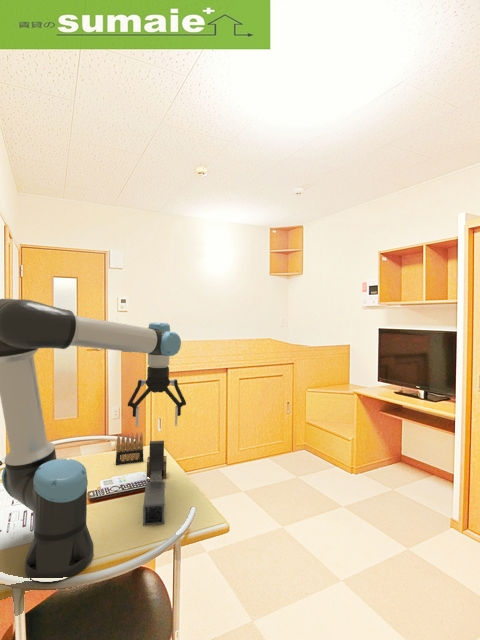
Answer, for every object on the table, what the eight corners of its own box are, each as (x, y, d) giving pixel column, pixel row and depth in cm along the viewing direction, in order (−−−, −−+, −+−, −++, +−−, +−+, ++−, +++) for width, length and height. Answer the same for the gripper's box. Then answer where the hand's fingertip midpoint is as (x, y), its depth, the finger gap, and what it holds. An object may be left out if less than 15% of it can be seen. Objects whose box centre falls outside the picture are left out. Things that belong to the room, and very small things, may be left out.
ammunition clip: (142, 460, 152) (143, 431, 151) (143, 461, 150) (144, 432, 150) (115, 463, 148) (116, 433, 147) (115, 465, 146) (116, 435, 146)
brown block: (166, 478, 136) (166, 461, 136) (146, 479, 135) (146, 462, 135) (166, 472, 141) (166, 455, 141) (147, 473, 140) (147, 456, 139)
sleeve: (164, 523, 108) (164, 503, 107) (143, 525, 106) (143, 505, 106) (164, 499, 121) (164, 481, 121) (145, 500, 120) (146, 482, 120)
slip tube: (162, 501, 118) (163, 458, 118) (146, 502, 117) (147, 459, 117) (163, 471, 139) (164, 435, 139) (149, 472, 138) (150, 436, 138)
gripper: (192, 364, 137) (191, 421, 138) (123, 364, 132) (121, 422, 133) (194, 367, 130) (192, 427, 130) (120, 367, 125) (118, 429, 125)
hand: (156, 425), depth 132 cm, fingers open, 13 cm apart
